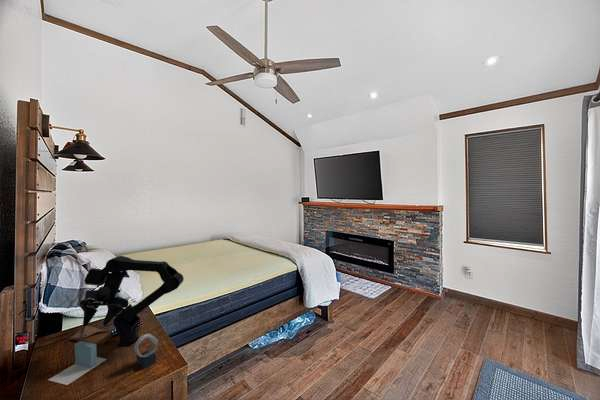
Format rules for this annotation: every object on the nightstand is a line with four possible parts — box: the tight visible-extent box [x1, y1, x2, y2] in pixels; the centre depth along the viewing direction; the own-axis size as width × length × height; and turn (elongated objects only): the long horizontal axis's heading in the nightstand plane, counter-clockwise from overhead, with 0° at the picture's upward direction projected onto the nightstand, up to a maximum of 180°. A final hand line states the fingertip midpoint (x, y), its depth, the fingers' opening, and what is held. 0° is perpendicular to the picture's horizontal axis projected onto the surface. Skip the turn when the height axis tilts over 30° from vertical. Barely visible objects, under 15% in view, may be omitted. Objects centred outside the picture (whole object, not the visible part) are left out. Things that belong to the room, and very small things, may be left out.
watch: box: [133, 333, 159, 370], centre depth 101 cm, size 6×8×11 cm
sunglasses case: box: [67, 325, 114, 346], centre depth 117 cm, size 18×7×7 cm, turn 72°
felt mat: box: [48, 356, 107, 386], centre depth 97 cm, size 14×9×1 cm, turn 166°
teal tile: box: [74, 341, 98, 369], centre depth 99 cm, size 2×8×8 cm, turn 76°
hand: (94, 326), depth 102 cm, fingers open, 9 cm apart
